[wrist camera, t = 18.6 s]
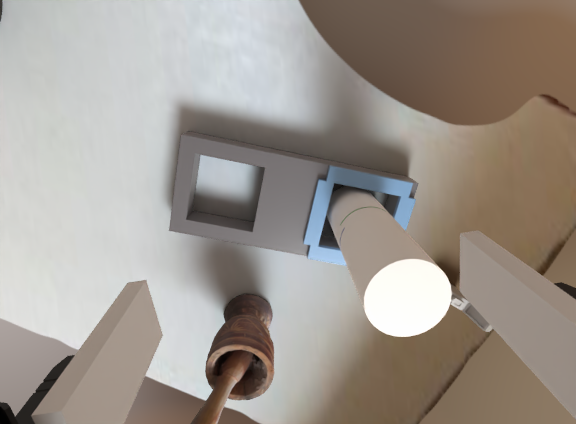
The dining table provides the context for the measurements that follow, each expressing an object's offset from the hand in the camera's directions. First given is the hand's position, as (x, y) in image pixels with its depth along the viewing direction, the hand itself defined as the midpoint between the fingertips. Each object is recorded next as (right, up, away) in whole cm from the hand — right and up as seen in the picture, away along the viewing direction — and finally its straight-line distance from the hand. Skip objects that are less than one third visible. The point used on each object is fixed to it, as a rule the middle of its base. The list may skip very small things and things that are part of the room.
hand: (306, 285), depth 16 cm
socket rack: (0, +5, +38) cm, 38 cm away
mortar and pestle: (-8, -14, +44) cm, 47 cm away
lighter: (+24, -9, +43) cm, 51 cm away
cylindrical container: (+8, +4, +39) cm, 40 cm away
